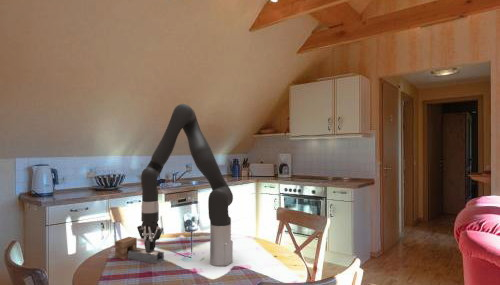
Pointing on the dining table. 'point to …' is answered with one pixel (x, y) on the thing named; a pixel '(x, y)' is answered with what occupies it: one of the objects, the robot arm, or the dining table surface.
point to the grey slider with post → (147, 249)
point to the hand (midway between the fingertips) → (149, 248)
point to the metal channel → (145, 256)
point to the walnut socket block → (125, 247)
